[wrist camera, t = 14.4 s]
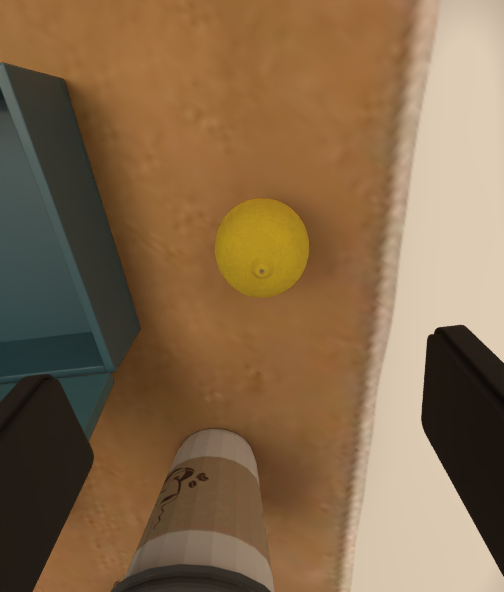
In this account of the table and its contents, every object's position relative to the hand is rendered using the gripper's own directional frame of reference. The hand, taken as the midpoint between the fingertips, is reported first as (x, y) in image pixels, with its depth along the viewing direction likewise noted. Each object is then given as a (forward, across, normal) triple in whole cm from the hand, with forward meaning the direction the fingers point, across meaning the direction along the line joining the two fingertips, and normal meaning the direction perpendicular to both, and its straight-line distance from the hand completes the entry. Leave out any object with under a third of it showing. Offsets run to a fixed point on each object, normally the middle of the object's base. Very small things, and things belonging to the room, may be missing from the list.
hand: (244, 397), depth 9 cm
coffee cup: (+17, +6, +21) cm, 28 cm away
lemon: (+18, -1, 0) cm, 18 cm away
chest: (+17, +17, -2) cm, 25 cm away
